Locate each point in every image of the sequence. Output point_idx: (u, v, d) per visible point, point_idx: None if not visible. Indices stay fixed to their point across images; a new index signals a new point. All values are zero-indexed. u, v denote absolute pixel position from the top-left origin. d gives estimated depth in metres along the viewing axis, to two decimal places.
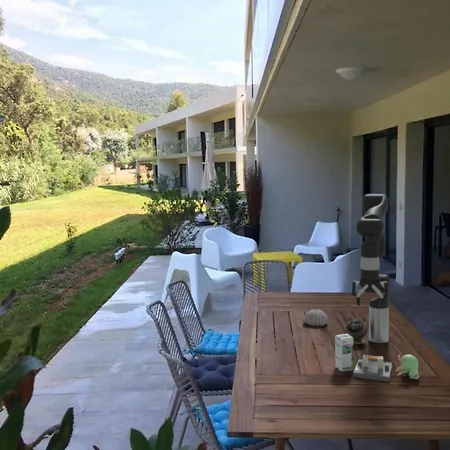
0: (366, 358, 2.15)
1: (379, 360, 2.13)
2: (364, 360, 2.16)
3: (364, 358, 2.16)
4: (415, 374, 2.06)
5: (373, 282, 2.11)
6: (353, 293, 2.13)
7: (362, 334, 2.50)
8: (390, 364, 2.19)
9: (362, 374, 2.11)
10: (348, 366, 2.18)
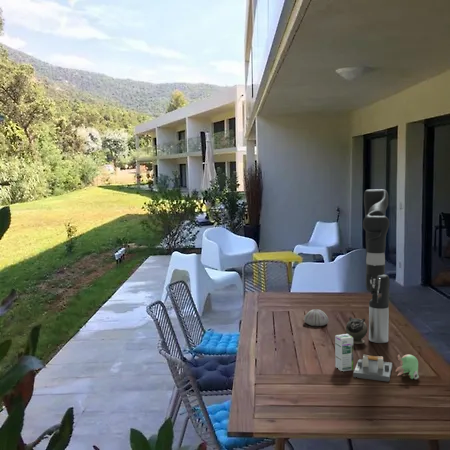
0: (366, 358, 2.15)
1: (379, 360, 2.13)
2: (364, 360, 2.16)
3: (364, 358, 2.16)
4: (415, 374, 2.06)
5: (378, 276, 2.19)
6: (377, 292, 2.16)
7: (362, 334, 2.50)
8: (390, 364, 2.19)
9: (362, 374, 2.11)
10: (348, 366, 2.18)
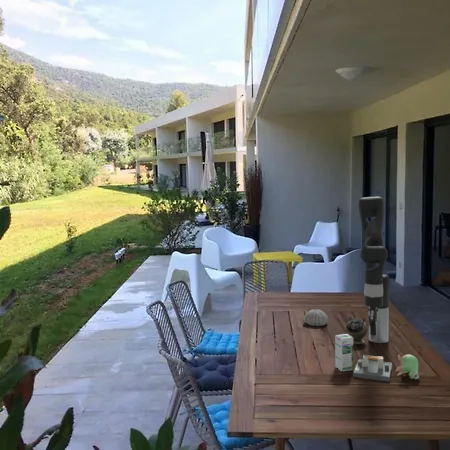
0: (366, 358, 2.15)
1: (379, 360, 2.13)
2: (364, 360, 2.16)
3: (364, 358, 2.16)
4: (415, 374, 2.06)
5: (376, 307, 2.15)
6: (375, 324, 2.11)
7: (362, 334, 2.50)
8: (390, 364, 2.19)
9: (362, 374, 2.11)
10: (348, 366, 2.18)
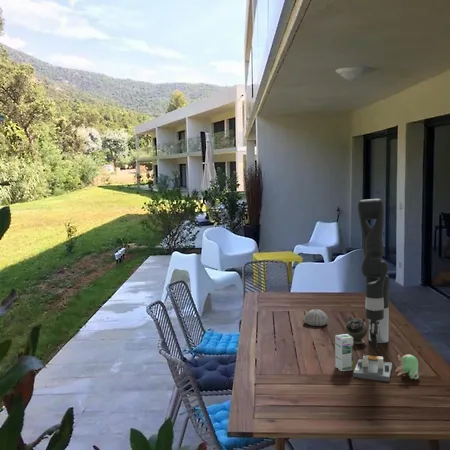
0: (366, 358, 2.15)
1: (379, 360, 2.13)
2: (364, 360, 2.16)
3: (364, 358, 2.16)
4: (415, 374, 2.06)
5: (377, 320, 2.18)
6: (376, 337, 2.15)
7: (362, 334, 2.50)
8: (390, 364, 2.19)
9: (362, 374, 2.11)
10: (348, 366, 2.18)
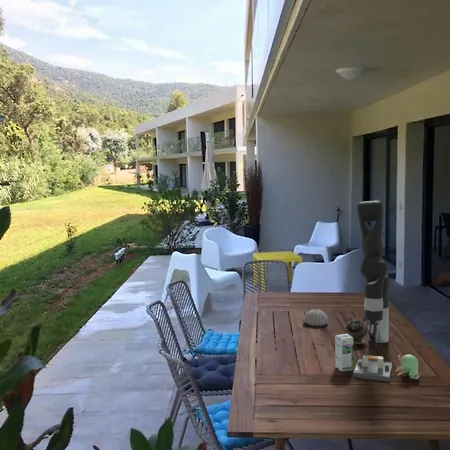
0: (366, 358, 2.15)
1: (379, 360, 2.13)
2: (364, 360, 2.16)
3: (364, 358, 2.16)
4: (415, 374, 2.06)
5: (376, 321, 2.15)
6: (375, 338, 2.12)
7: (362, 334, 2.50)
8: (390, 364, 2.19)
9: (362, 374, 2.11)
10: (348, 366, 2.18)
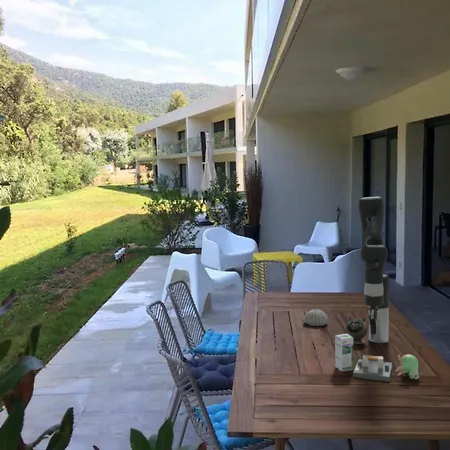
0: (366, 358, 2.15)
1: (379, 360, 2.13)
2: (364, 360, 2.16)
3: (364, 358, 2.16)
4: (415, 374, 2.06)
5: None
6: (376, 323, 2.11)
7: (362, 334, 2.50)
8: (390, 364, 2.19)
9: (362, 374, 2.11)
10: (348, 366, 2.18)
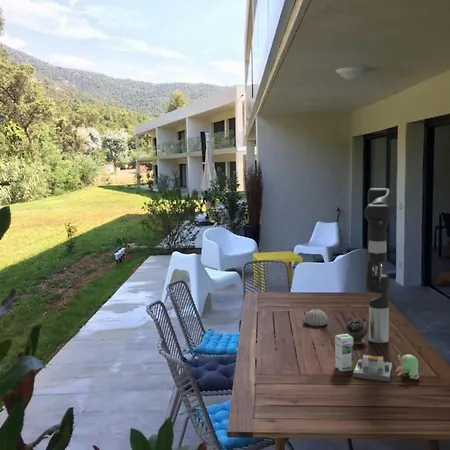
0: (366, 358, 2.15)
1: (379, 360, 2.13)
2: (364, 360, 2.16)
3: (364, 358, 2.16)
4: (415, 374, 2.06)
5: (380, 263, 2.25)
6: (379, 279, 2.22)
7: (362, 334, 2.50)
8: (390, 364, 2.19)
9: (362, 374, 2.11)
10: (348, 366, 2.18)
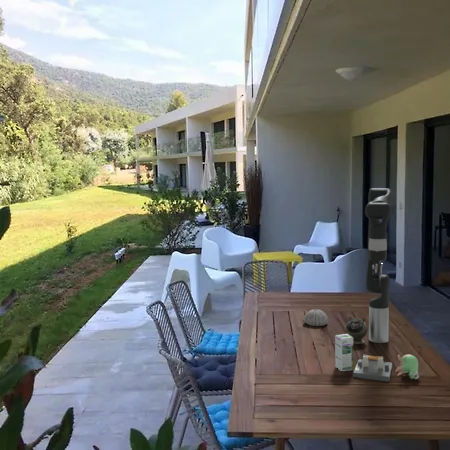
0: (366, 358, 2.15)
1: (379, 360, 2.13)
2: (364, 360, 2.16)
3: (364, 358, 2.16)
4: (415, 374, 2.06)
5: (380, 261, 2.26)
6: (379, 277, 2.23)
7: (362, 334, 2.50)
8: (390, 364, 2.19)
9: (362, 374, 2.11)
10: (348, 366, 2.18)
